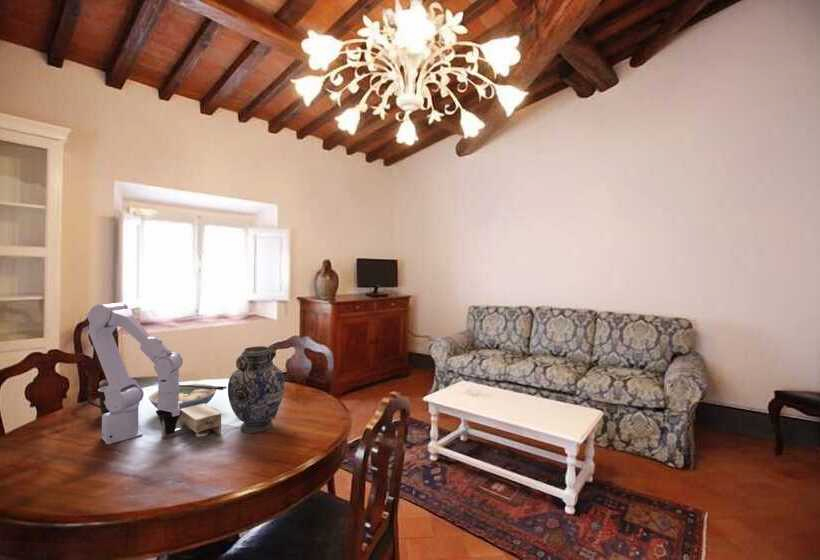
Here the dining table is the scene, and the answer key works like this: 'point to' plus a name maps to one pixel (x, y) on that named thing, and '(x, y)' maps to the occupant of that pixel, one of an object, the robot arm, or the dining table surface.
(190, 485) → the dining table surface
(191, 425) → the tan slab
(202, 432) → the button
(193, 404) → the ramen bowl
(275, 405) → the decorative vase
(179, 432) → the wood grain brick
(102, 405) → the coffee mug
